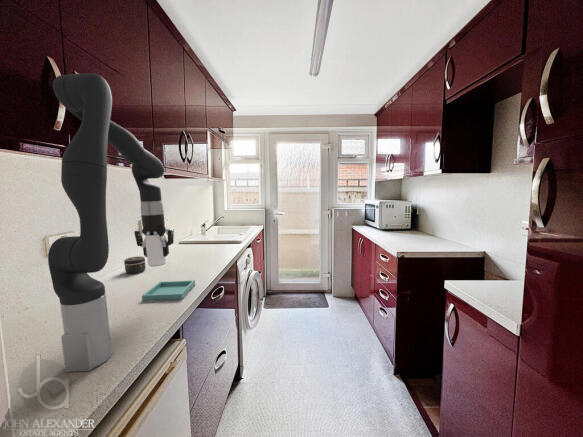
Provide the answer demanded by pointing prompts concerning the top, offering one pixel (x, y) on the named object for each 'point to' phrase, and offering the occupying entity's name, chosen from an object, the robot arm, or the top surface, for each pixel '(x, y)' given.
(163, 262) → the can
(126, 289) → the top surface
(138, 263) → the jar
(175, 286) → the tray
